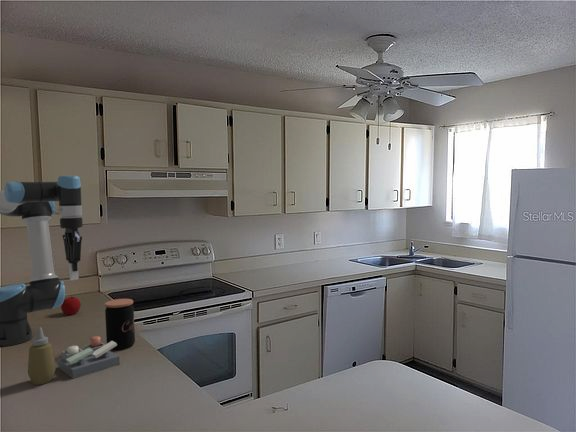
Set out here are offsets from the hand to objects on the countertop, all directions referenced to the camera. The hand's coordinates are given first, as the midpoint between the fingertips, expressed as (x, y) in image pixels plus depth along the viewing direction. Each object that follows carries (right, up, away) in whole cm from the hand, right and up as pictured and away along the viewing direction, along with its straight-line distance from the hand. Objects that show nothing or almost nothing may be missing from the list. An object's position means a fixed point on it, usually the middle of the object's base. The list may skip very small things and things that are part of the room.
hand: (74, 279), depth 165 cm
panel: (+9, -30, -8) cm, 32 cm away
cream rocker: (+15, -25, -7) cm, 30 cm away
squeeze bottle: (-1, -31, -20) cm, 37 cm away
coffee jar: (+13, -29, +12) cm, 34 cm away
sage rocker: (+9, -25, -14) cm, 30 cm away
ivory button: (+4, -26, -9) cm, 28 cm away
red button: (+9, -24, -3) cm, 26 cm away
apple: (-31, -27, +60) cm, 72 cm away
